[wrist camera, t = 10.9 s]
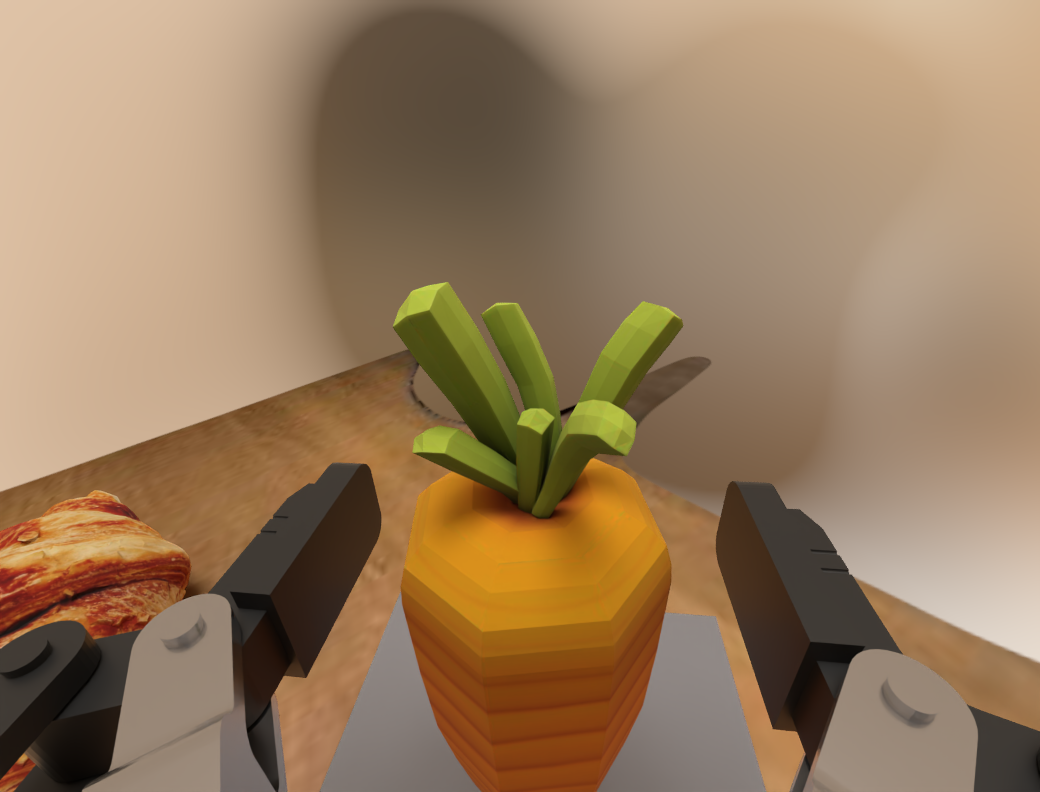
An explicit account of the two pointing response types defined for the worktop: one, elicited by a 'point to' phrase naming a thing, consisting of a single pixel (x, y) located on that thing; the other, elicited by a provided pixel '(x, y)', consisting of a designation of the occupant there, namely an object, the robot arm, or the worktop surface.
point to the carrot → (532, 551)
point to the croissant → (85, 576)
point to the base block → (638, 766)
